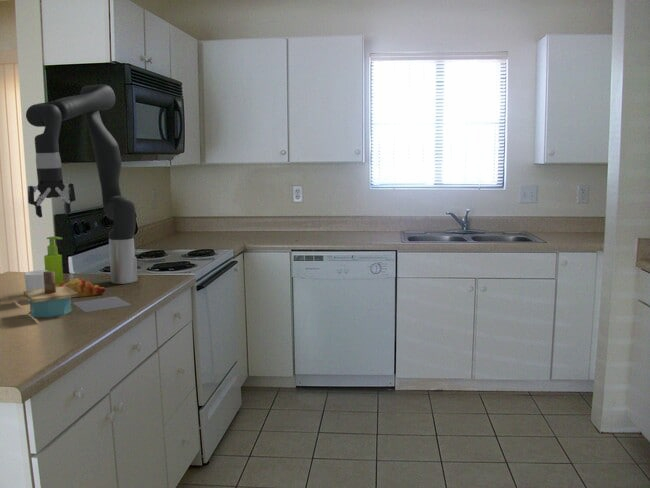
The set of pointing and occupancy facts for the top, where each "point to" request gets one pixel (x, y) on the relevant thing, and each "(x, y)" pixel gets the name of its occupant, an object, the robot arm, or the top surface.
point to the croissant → (83, 287)
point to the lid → (50, 290)
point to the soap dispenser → (54, 260)
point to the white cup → (34, 280)
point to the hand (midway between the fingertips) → (53, 215)
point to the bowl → (50, 308)
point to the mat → (101, 304)
